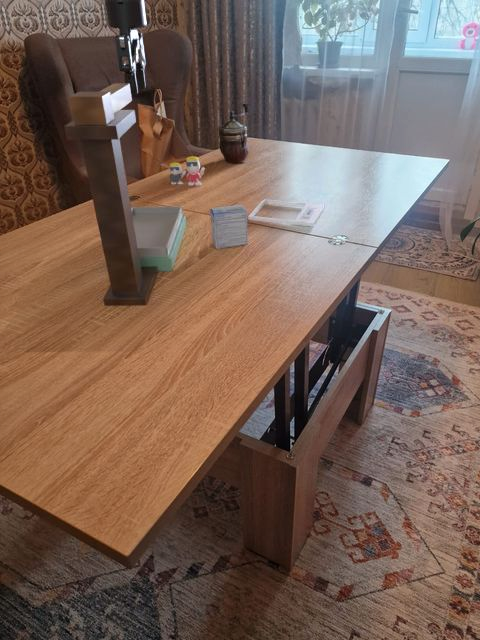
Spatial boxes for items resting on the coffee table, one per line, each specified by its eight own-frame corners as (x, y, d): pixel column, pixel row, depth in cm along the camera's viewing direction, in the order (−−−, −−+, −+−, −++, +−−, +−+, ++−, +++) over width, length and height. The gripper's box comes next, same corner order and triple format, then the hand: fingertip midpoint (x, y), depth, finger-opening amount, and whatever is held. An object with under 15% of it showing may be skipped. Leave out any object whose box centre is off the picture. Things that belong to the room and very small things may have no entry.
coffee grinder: (259, 156, 184) (259, 104, 173) (242, 165, 173) (241, 110, 163) (230, 153, 188) (228, 101, 178) (211, 162, 177) (208, 108, 167)
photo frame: (313, 222, 124) (247, 215, 129) (313, 226, 125) (248, 219, 129) (325, 204, 136) (264, 198, 140) (324, 208, 136) (264, 202, 141)
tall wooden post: (104, 305, 93) (63, 126, 74) (120, 272, 104) (89, 110, 85) (146, 305, 93) (115, 125, 74) (157, 272, 104) (134, 109, 86)
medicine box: (243, 238, 119) (242, 204, 114) (248, 245, 116) (247, 210, 111) (212, 242, 117) (209, 207, 112) (216, 249, 114) (213, 214, 109)
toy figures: (167, 184, 155) (164, 157, 150) (171, 180, 159) (169, 154, 154) (203, 186, 154) (201, 159, 149) (206, 182, 157) (205, 155, 152)
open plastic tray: (107, 272, 105) (102, 249, 101) (133, 225, 126) (130, 206, 123) (172, 271, 105) (169, 249, 102) (186, 225, 127) (184, 205, 124)
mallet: (74, 125, 75) (68, 96, 72) (111, 100, 94) (107, 77, 91) (106, 125, 75) (101, 96, 72) (137, 100, 94) (133, 77, 91)
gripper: (113, -1, 100) (126, 87, 109) (94, -3, 88) (111, 97, 97) (150, -1, 100) (160, 87, 109) (135, -3, 88) (148, 96, 97)
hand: (136, 91), depth 103 cm, fingers open, 8 cm apart
